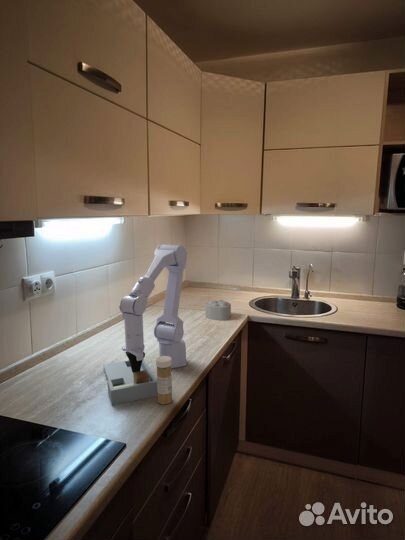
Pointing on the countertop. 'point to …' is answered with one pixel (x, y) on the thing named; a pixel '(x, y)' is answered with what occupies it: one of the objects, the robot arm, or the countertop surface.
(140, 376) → the block
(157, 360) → the sprinkles bottle
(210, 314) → the lumpy-topped squat cylinder
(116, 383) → the grey pocketed tray
